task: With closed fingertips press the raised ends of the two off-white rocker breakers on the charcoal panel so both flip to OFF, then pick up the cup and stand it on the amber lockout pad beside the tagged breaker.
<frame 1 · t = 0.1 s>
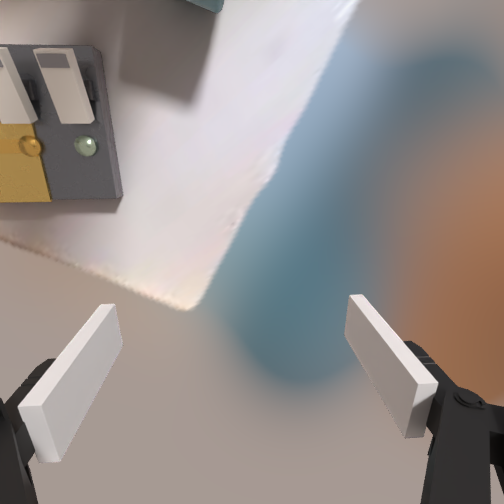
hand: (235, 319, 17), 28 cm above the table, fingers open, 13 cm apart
rocker 1: (66, 87, 32), point 5 cm above the table, hinge at 20.0°
panel: (40, 129, 37), on the table
rocker 2: (3, 87, 32), point 5 cm above the table, hinge at 20.0°
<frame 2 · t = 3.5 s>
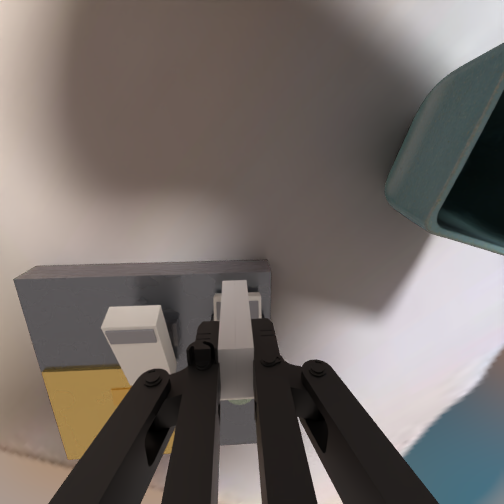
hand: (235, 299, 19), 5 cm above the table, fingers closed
rocker 1: (238, 344, 20), point 5 cm above the table, hinge at -17.5°
flower pot: (426, 161, 22), on the table
panel: (165, 352, 26), on the table
rocker 2: (144, 349, 20), point 5 cm above the table, hinge at 20.0°
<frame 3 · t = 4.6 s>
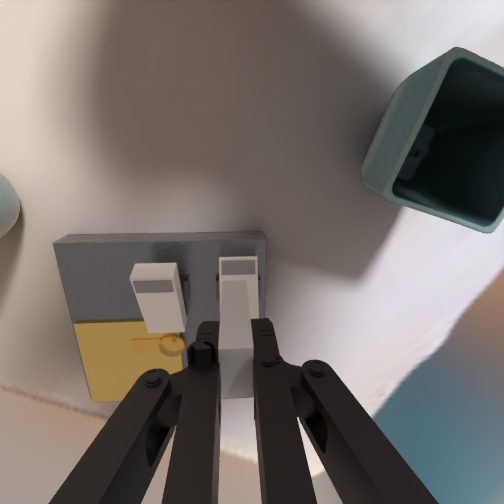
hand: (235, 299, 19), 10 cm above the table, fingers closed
rocker 1: (238, 298, 25), point 5 cm above the table, hinge at -23.6°
flower pot: (396, 148, 26), on the table
panel: (175, 311, 30), on the table
rocker 2: (161, 300, 25), point 5 cm above the table, hinge at 20.0°
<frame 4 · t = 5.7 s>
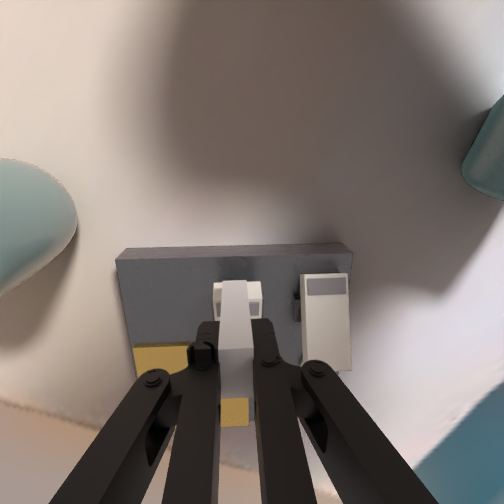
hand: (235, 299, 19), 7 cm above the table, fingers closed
rocker 1: (325, 320, 22), point 5 cm above the table, hinge at -23.6°
cup: (41, 206, 23), on the table
flower pot: (498, 148, 23), on the table
panel: (238, 331, 27), on the table
rocker 2: (238, 324, 22), point 5 cm above the table, hinge at 17.6°, touching gripper
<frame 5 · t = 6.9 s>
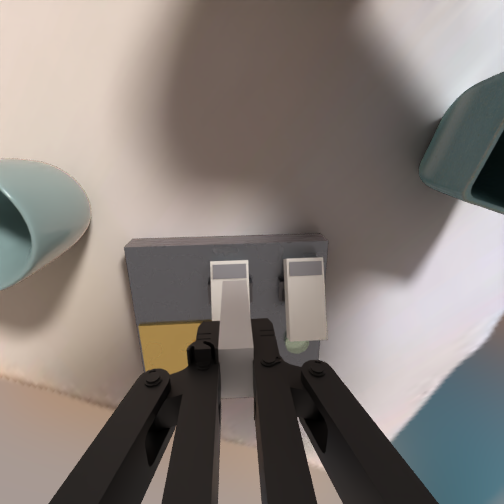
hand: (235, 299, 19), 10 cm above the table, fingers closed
rocker 1: (304, 298, 26), point 5 cm above the table, hinge at -23.6°
cup: (59, 202, 26), on the table
flower pot: (450, 152, 27), on the table
panel: (231, 313, 31), on the table
rocker 2: (230, 301, 25), point 5 cm above the table, hinge at -23.0°
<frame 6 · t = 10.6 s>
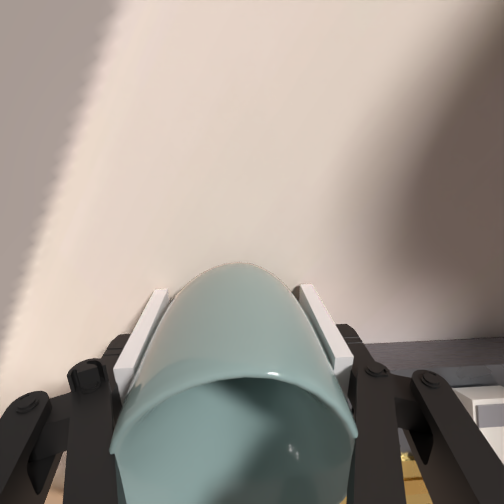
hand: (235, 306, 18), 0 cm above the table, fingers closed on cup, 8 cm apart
cup: (235, 302, 18), on the table, touching gripper
panel: (427, 428, 23), on the table
rocker 2: (491, 452, 17), point 5 cm above the table, hinge at -22.9°
when the fingers open (4 cm above the table, at t = 15.6 s): cup moves 1 cm, resting on panel.
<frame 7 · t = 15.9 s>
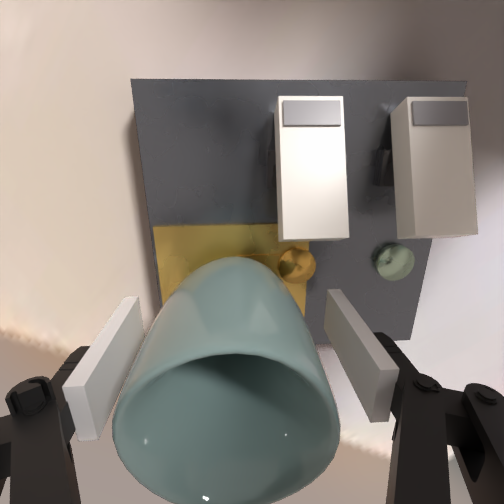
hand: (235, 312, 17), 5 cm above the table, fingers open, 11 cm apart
rocker 1: (432, 169, 15), point 5 cm above the table, hinge at -23.6°
cup: (233, 294, 19), point 3 cm above the table, touching panel
panel: (289, 223, 21), on the table
rocker 2: (309, 171, 15), point 5 cm above the table, hinge at -22.9°
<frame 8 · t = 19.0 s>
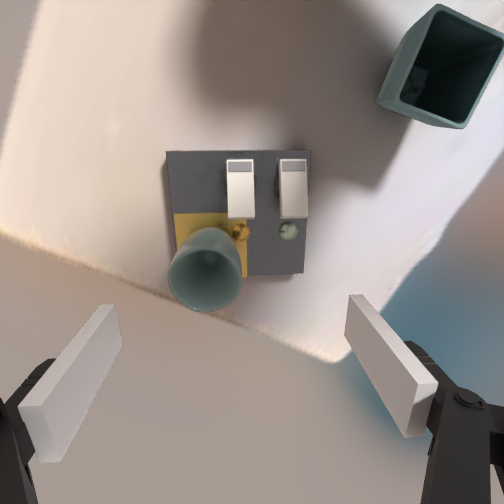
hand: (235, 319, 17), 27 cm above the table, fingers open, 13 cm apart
rocker 1: (293, 189, 36), point 5 cm above the table, hinge at -23.6°
cup: (211, 247, 40), point 3 cm above the table, touching panel
flower pot: (401, 87, 38), on the table
panel: (240, 213, 42), on the table
rocker 2: (240, 189, 36), point 5 cm above the table, hinge at -22.9°
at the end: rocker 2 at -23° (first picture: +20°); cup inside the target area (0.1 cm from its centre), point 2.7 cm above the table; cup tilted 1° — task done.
